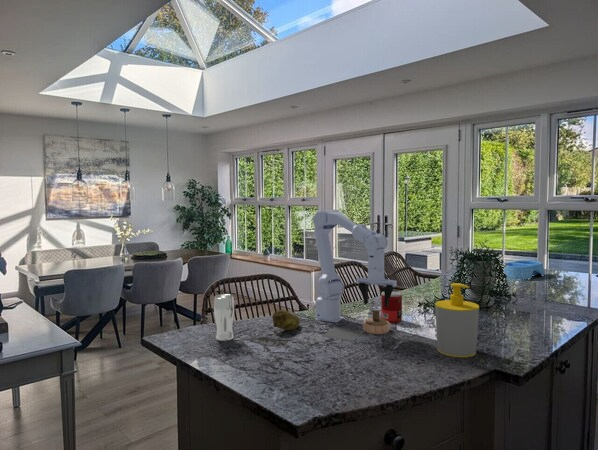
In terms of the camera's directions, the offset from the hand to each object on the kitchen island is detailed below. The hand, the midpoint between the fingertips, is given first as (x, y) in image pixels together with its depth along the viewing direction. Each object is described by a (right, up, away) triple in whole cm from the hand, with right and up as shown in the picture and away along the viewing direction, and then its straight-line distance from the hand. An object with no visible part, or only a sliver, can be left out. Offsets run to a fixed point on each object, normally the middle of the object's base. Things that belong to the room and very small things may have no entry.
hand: (376, 304), depth 157 cm
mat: (-12, -10, -3) cm, 16 cm away
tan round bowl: (0, -10, +1) cm, 10 cm away
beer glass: (-54, -11, -5) cm, 55 cm away
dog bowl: (+109, -3, +108) cm, 153 cm away
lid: (0, -7, 0) cm, 7 cm away
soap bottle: (+21, -11, -21) cm, 32 cm away
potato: (-32, -10, +3) cm, 34 cm away
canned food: (+9, -9, +14) cm, 19 cm away
